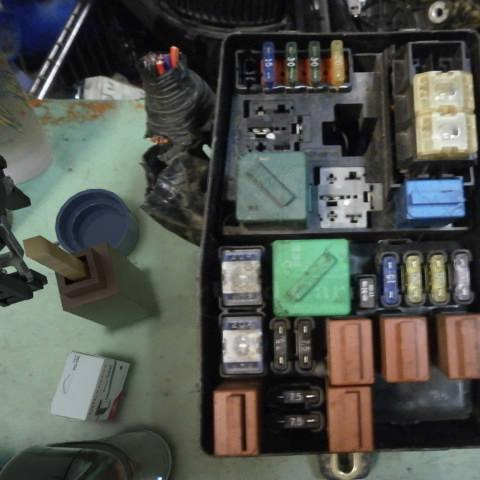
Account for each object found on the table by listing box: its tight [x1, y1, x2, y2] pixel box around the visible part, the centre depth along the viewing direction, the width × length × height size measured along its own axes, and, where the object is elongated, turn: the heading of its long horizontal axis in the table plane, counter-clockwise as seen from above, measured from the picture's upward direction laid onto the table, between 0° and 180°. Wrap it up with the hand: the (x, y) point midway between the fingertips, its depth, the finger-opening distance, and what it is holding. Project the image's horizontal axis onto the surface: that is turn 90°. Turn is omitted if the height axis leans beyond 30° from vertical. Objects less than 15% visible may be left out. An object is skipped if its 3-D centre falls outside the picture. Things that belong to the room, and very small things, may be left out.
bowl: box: [54, 188, 140, 258], centre depth 85 cm, size 11×11×6 cm
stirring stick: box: [22, 234, 91, 283], centre depth 61 cm, size 2×2×14 cm
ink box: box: [49, 349, 131, 422], centre depth 76 cm, size 9×5×12 cm, turn 168°
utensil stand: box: [54, 242, 156, 329], centre depth 75 cm, size 7×7×21 cm
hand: (29, 244), depth 54 cm, fingers open, 8 cm apart
